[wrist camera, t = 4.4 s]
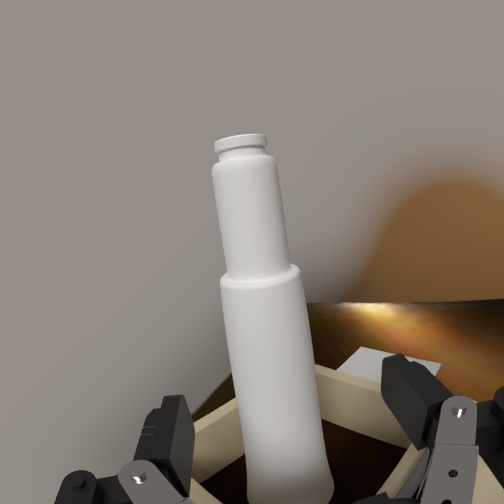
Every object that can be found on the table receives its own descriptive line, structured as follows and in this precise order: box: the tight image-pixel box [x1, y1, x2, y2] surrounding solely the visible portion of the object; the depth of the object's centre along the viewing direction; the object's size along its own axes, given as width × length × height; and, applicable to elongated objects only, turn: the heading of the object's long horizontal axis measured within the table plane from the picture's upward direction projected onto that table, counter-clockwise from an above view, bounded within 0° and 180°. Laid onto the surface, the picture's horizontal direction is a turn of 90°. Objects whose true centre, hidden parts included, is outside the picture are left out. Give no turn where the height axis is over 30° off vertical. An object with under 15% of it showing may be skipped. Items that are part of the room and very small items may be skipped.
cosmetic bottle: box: [212, 134, 334, 504], centre depth 15 cm, size 6×6×22 cm
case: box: [184, 364, 462, 504], centre depth 17 cm, size 16×15×6 cm
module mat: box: [336, 347, 441, 383], centre depth 28 cm, size 10×10×1 cm
